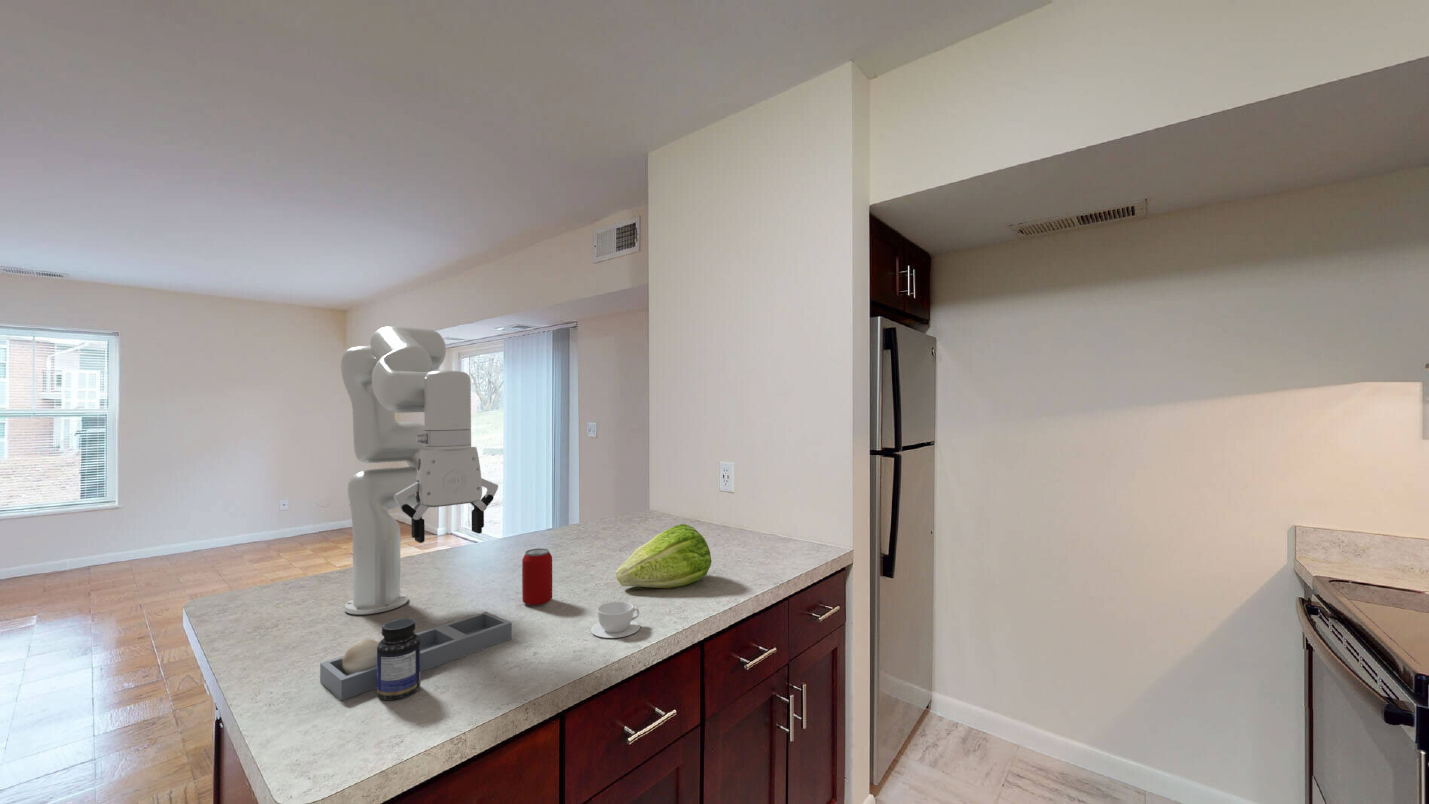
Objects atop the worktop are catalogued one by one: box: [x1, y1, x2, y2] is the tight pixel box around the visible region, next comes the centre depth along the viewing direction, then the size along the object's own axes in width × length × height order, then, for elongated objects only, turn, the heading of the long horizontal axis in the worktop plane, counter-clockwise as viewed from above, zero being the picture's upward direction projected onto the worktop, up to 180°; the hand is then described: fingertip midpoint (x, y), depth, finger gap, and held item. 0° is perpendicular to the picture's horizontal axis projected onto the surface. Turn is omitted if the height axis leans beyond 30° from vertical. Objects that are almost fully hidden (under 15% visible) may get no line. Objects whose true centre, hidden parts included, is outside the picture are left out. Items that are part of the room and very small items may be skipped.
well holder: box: [319, 611, 513, 701], centre depth 102 cm, size 10×30×3 cm, turn 142°
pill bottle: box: [376, 617, 421, 701], centre depth 91 cm, size 6×6×11 cm
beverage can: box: [521, 547, 553, 607], centre depth 132 cm, size 7×7×12 cm
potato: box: [342, 638, 379, 675], centre depth 95 cm, size 6×6×6 cm
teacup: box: [590, 601, 641, 639], centre depth 115 cm, size 10×10×5 cm
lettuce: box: [615, 523, 712, 589], centre depth 145 cm, size 15×24×16 cm
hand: (449, 536), depth 99 cm, fingers open, 9 cm apart
